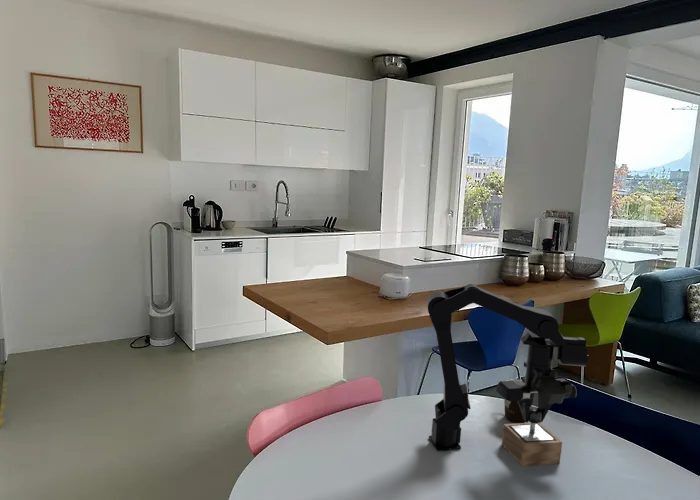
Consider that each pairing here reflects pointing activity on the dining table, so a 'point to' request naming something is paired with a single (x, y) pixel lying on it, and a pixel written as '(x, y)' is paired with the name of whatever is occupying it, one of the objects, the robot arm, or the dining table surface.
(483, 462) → the dining table surface
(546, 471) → the dining table surface
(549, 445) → the wooden square tray
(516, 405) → the coffee mug
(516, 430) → the plunger
